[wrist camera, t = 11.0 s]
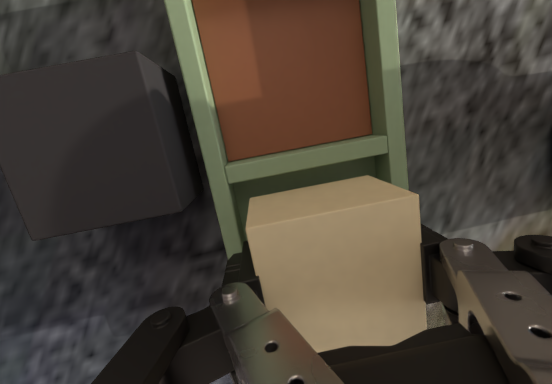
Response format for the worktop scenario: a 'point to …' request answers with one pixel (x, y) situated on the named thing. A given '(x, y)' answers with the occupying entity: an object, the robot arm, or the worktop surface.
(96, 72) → the dark gray block
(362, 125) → the frame
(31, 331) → the worktop surface
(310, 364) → the robot arm
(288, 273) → the foam pad
